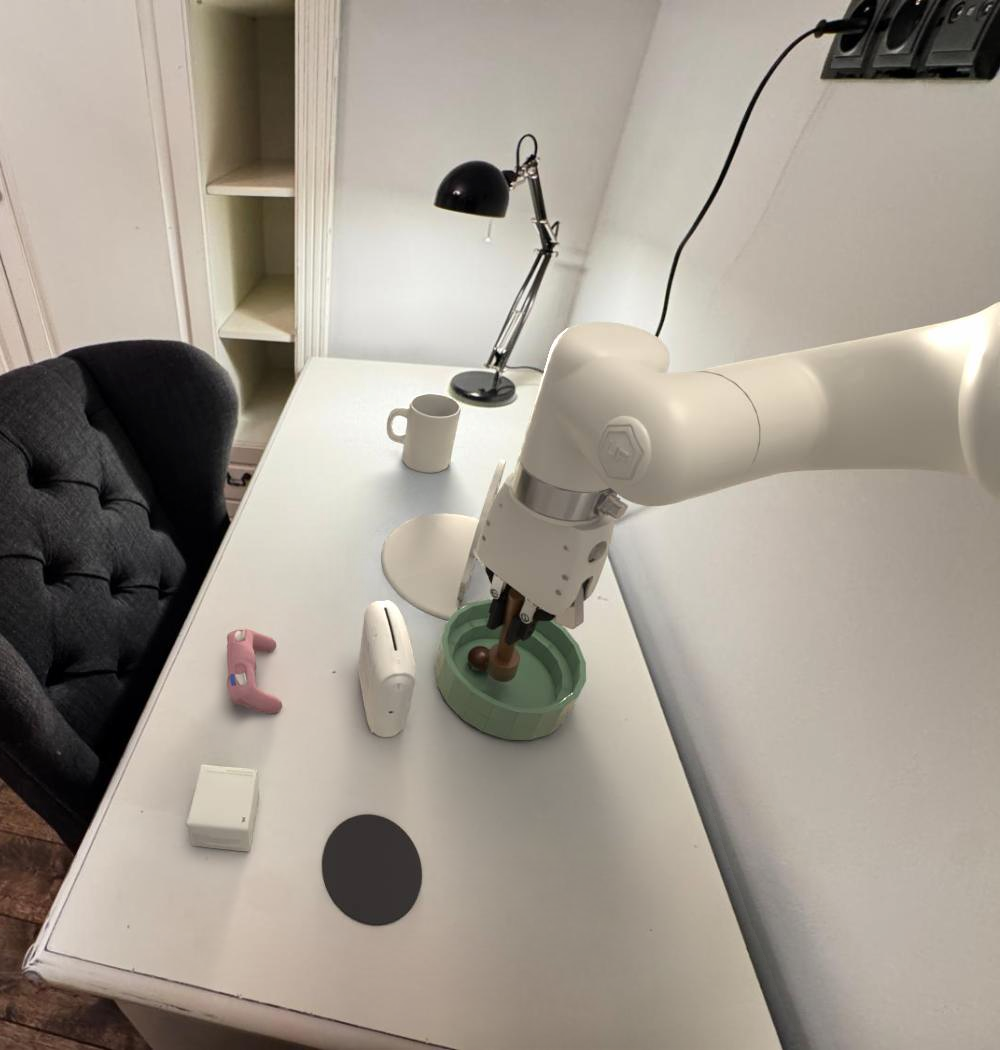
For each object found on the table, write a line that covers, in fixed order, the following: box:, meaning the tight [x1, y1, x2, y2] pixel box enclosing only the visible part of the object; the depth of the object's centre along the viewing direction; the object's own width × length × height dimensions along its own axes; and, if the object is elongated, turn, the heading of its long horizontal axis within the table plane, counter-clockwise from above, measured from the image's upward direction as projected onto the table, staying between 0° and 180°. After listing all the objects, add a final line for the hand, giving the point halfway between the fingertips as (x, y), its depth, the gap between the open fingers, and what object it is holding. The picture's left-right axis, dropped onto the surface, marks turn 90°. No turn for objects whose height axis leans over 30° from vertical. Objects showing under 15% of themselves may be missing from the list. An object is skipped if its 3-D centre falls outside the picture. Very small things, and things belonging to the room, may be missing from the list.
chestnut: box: [467, 646, 489, 672], centre depth 67 cm, size 3×3×3 cm
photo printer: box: [357, 600, 417, 738], centre depth 61 cm, size 10×4×12 cm, turn 4°
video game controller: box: [226, 628, 283, 714], centre depth 65 cm, size 10×5×7 cm, turn 6°
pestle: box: [486, 588, 526, 682], centre depth 59 cm, size 3×3×14 cm
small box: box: [185, 764, 260, 852], centre depth 53 cm, size 6×6×5 cm
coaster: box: [321, 813, 423, 926], centre depth 52 cm, size 9×9×1 cm
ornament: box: [380, 459, 507, 621], centre depth 78 cm, size 22×13×17 cm, turn 155°
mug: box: [386, 393, 462, 474], centre depth 99 cm, size 12×8×11 cm
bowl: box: [434, 598, 587, 741], centre depth 65 cm, size 15×15×6 cm
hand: (507, 629), depth 58 cm, fingers closed on pestle
